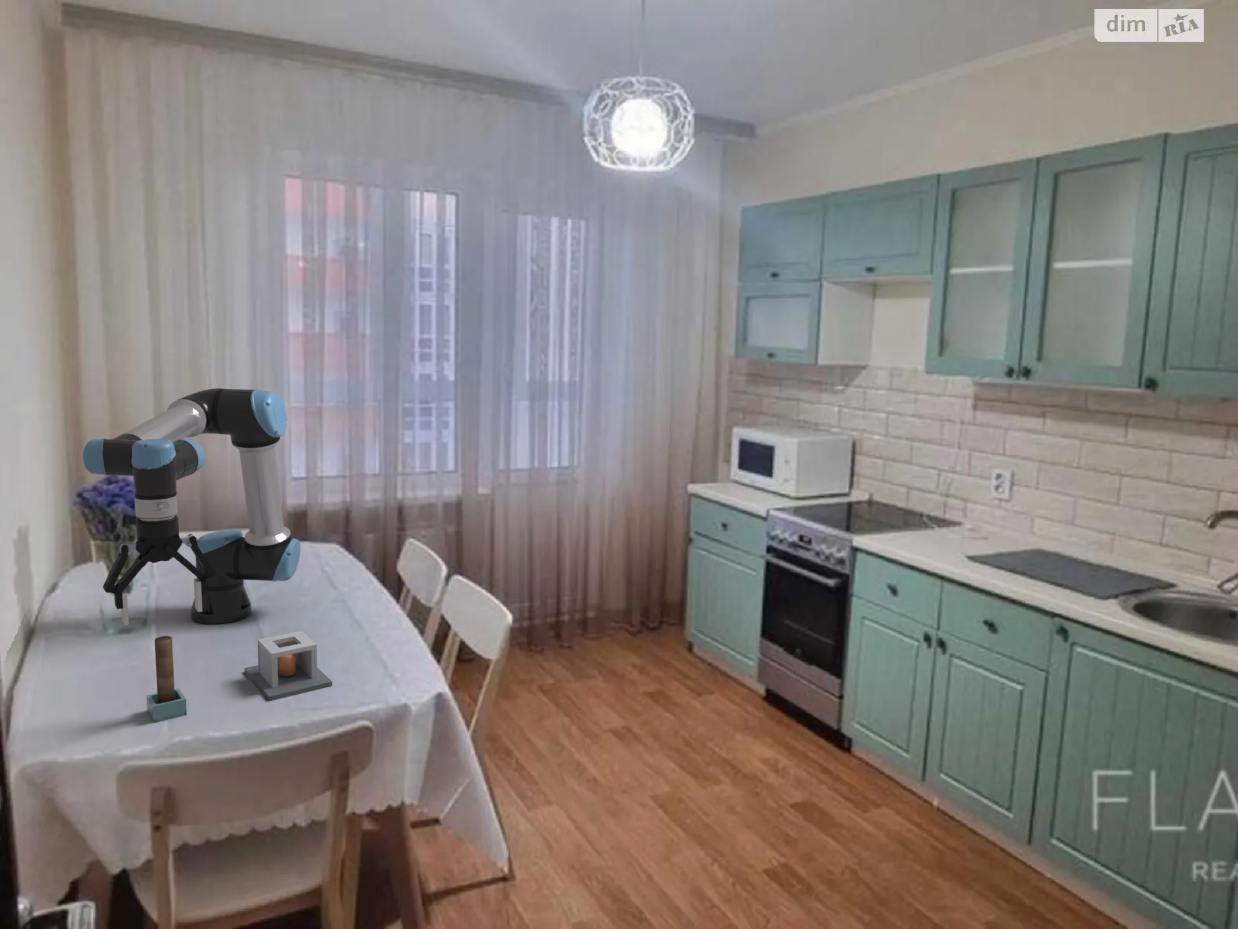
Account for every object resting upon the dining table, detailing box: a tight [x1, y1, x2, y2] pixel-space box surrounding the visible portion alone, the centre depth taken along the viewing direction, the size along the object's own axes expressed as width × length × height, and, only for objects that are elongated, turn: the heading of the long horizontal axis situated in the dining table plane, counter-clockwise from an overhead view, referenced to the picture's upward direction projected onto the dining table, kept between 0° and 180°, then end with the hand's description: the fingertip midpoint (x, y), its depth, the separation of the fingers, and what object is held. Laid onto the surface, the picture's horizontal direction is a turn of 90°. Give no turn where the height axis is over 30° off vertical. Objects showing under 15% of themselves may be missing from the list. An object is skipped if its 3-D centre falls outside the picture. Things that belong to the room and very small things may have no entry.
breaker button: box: [279, 653, 297, 676], centre depth 198 cm, size 4×4×4 cm
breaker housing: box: [244, 630, 333, 702], centre depth 198 cm, size 18×14×9 cm
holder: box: [146, 687, 188, 723], centre depth 180 cm, size 6×6×4 cm
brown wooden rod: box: [154, 635, 175, 704], centre depth 178 cm, size 3×3×16 cm
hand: (163, 616), depth 176 cm, fingers open, 13 cm apart
